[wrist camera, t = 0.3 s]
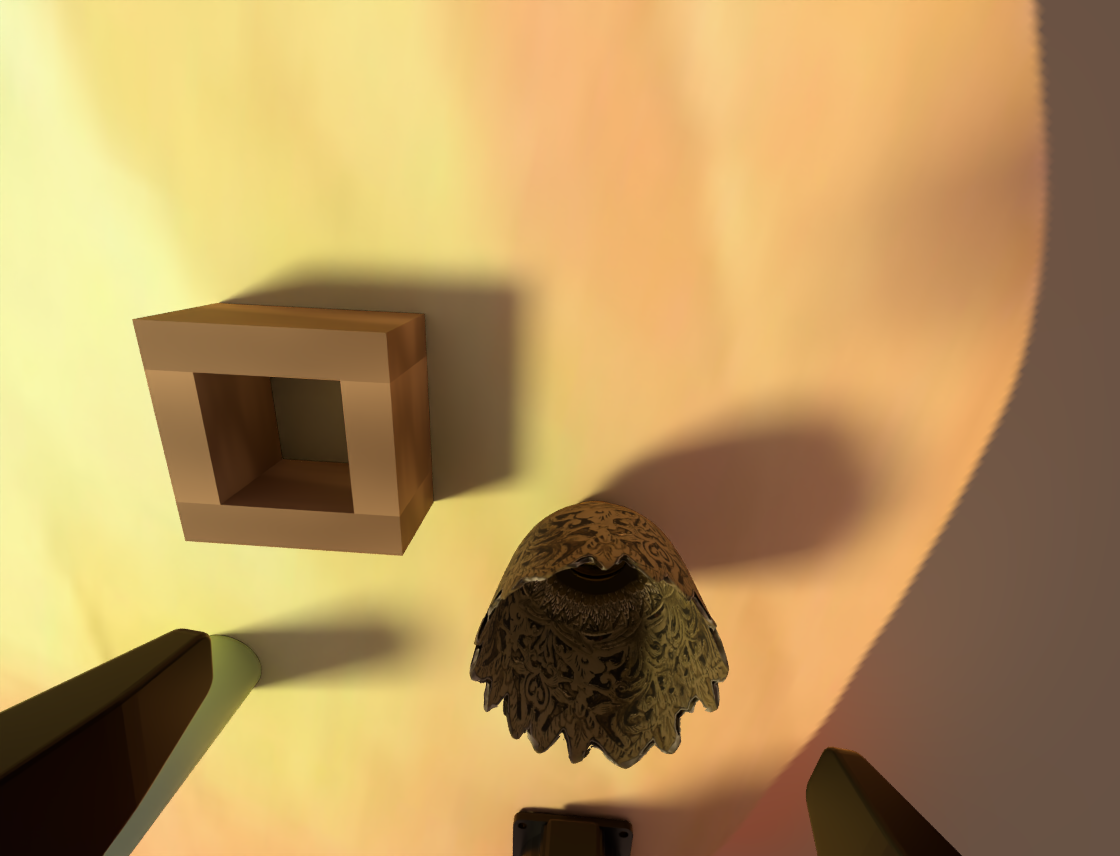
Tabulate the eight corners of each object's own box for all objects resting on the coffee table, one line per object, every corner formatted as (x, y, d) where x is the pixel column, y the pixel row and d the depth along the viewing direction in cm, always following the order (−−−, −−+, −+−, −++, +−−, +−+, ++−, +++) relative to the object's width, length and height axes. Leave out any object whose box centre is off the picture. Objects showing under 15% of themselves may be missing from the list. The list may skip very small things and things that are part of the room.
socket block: (433, 502, 23) (402, 555, 19) (251, 490, 23) (185, 540, 19) (424, 313, 20) (386, 333, 16) (217, 303, 20) (132, 319, 16)
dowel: (266, 693, 27) (120, 901, 19) (198, 688, 27) (23, 892, 19) (255, 638, 26) (93, 833, 17) (183, 632, 26) (-12, 824, 18)
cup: (574, 418, 21) (565, 521, 13) (718, 514, 22) (784, 658, 15) (478, 547, 23) (425, 696, 16) (612, 628, 24) (622, 803, 17)
